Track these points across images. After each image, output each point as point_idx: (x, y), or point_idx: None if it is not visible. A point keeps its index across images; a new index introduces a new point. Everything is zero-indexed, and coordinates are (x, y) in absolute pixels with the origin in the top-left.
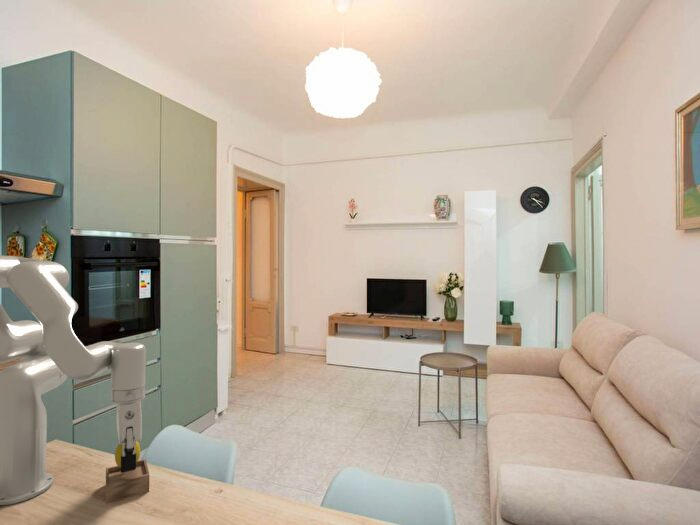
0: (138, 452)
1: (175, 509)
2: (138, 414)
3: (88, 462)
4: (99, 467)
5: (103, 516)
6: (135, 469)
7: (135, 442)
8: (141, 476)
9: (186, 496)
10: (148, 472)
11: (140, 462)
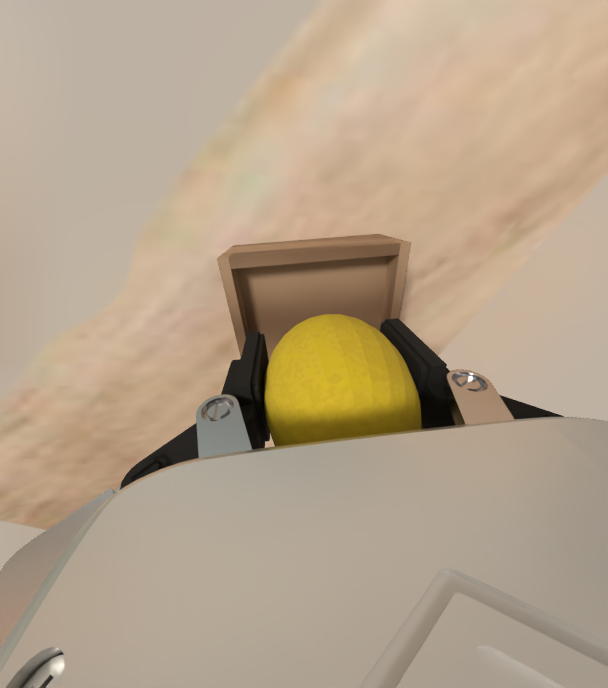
0: (384, 340)
1: (579, 132)
2: None
3: (85, 420)
4: (128, 391)
5: None
6: (271, 298)
7: (393, 410)
8: (403, 279)
9: (537, 51)
10: (387, 246)
11: (235, 282)
